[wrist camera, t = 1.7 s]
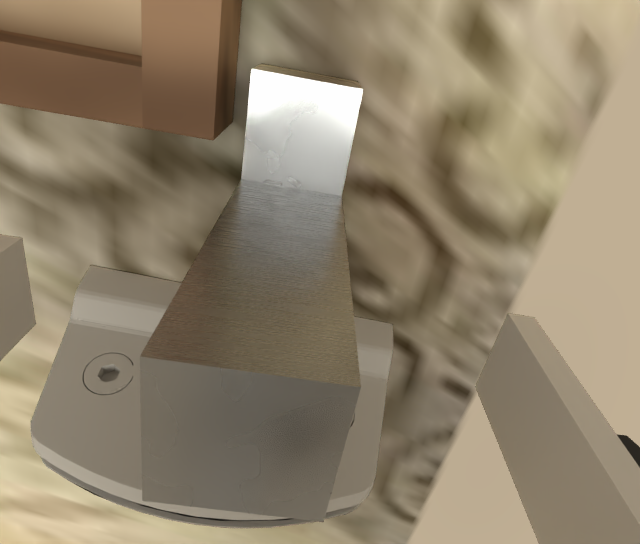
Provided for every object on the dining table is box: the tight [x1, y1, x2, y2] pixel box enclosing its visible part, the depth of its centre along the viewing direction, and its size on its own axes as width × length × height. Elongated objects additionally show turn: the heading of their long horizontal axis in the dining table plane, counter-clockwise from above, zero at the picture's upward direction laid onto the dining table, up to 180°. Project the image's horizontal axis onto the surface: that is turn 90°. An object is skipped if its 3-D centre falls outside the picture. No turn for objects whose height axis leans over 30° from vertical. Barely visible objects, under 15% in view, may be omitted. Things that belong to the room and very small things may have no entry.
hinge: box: [31, 265, 393, 528], centre depth 22 cm, size 17×5×10 cm, turn 77°
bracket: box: [140, 64, 363, 522], centre depth 14 cm, size 8×4×14 cm, turn 170°
